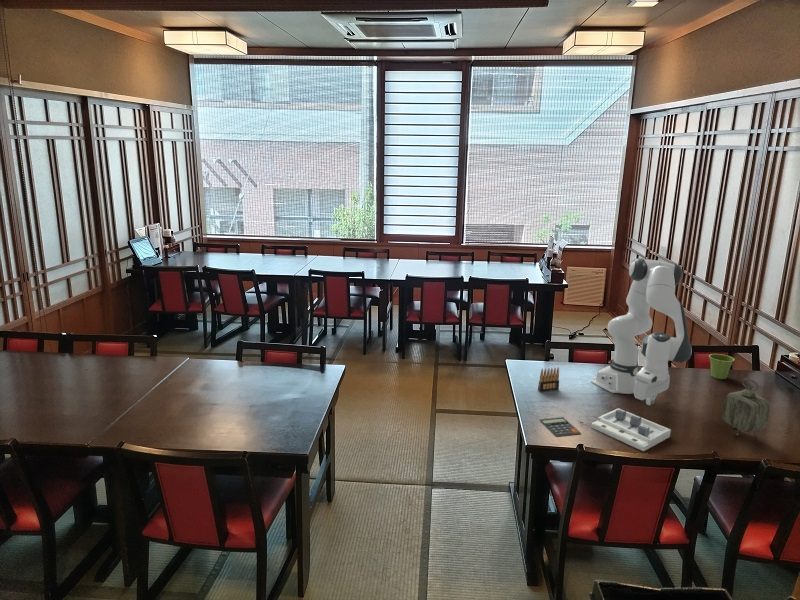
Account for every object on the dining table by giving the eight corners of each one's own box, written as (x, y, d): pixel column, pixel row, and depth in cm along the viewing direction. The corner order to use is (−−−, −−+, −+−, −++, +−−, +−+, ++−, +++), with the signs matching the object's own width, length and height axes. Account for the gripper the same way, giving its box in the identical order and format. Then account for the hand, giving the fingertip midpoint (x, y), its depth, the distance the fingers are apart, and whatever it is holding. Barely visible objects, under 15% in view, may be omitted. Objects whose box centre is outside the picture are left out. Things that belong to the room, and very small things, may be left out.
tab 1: (615, 418, 233) (616, 409, 232) (619, 416, 235) (620, 407, 234) (621, 420, 230) (622, 412, 229) (625, 418, 232) (626, 410, 231)
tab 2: (629, 424, 227) (630, 415, 226) (633, 422, 229) (635, 413, 228) (636, 427, 225) (637, 418, 224) (640, 425, 227) (641, 416, 226)
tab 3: (637, 434, 219) (638, 425, 218) (641, 432, 220) (643, 423, 219) (644, 437, 216) (645, 428, 215) (648, 435, 218) (649, 426, 217)
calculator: (555, 435, 221) (539, 419, 235) (555, 437, 221) (539, 421, 235) (581, 432, 223) (563, 416, 238) (581, 434, 224) (563, 418, 238)
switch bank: (591, 427, 229) (591, 419, 228) (617, 415, 241) (618, 408, 240) (643, 451, 211) (644, 443, 210) (669, 437, 222) (670, 429, 221)
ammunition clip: (556, 388, 269) (558, 366, 266) (558, 389, 267) (560, 367, 264) (537, 390, 266) (539, 368, 263) (539, 391, 264) (541, 369, 261)
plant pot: (726, 374, 290) (730, 354, 287) (734, 382, 279) (738, 362, 276) (702, 371, 293) (706, 352, 290) (709, 380, 281) (713, 360, 279)
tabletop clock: (764, 441, 220) (775, 385, 213) (748, 444, 217) (759, 388, 210) (732, 425, 233) (742, 372, 226) (717, 428, 230) (726, 374, 224)
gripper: (661, 364, 222) (656, 395, 225) (633, 375, 210) (628, 407, 214) (676, 369, 217) (670, 400, 220) (648, 380, 205) (643, 413, 209)
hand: (649, 403), depth 217 cm, fingers closed
